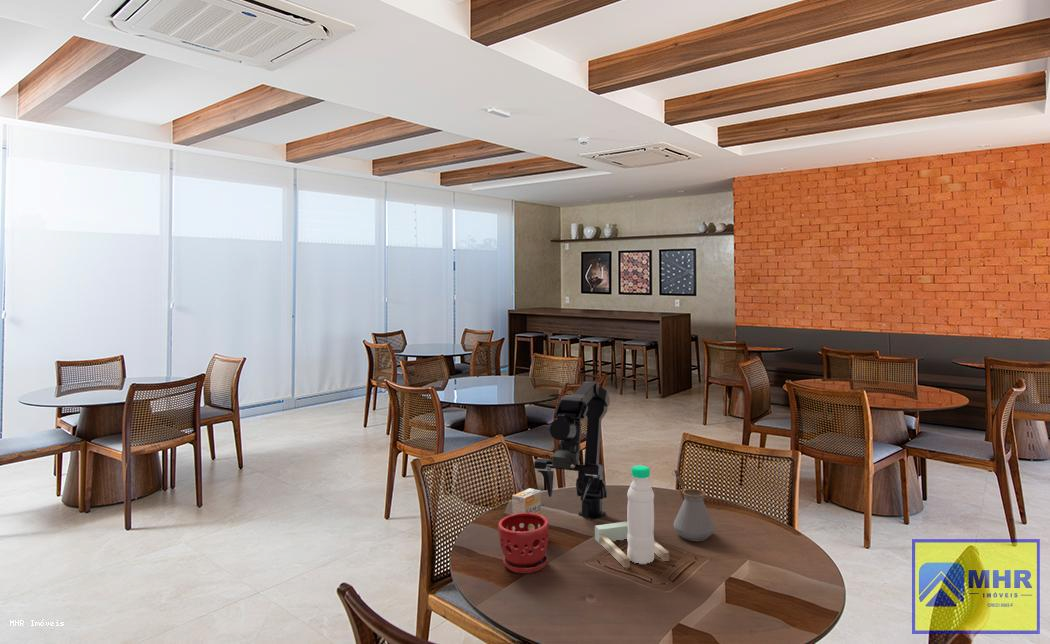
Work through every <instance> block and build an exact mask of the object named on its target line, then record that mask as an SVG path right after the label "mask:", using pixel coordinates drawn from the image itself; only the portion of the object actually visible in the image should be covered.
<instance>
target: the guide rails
mask: <svg viewBox="0 0 1050 644" xmlns="http://www.w3.org/2000/svg"><path fill="white" fill-rule="evenodd" d="M598 544H599V545H600V546H601V545H602V546H603V547H604V548H605V549H606V550H607V551H608V552H609V553H610V554H611V555H612V556H613V557H614V558H615V559H616V560H617V561H618V562H619V563H620V564H621V565H622V566H623V567H630V565H631V563H630V562H631V561H630V558H629V557H627V554H626V553H625V552H624V551H622V549H620V548H619V547H618V545H616V544H615V543H614V541H613V542H612V541H611V540H610V539H609V538H608V537H606V536H605V535H604V534H602V535H599V543H598ZM602 546H601V547H602ZM603 547H602V548H603ZM604 548H603V549H604ZM605 549H604V550H605ZM606 550H605V551H606ZM607 551H606V552H607ZM608 552H607V553H608ZM609 553H608V554H609ZM654 553H655V554H656V555H657V556H658V557H660V558H661V559H662V560H663V561H669V562H670V552H669V551H668V549H666V548H664V547H663V546H662V545H661V544H660V543H659V542H657V541H656V540H655V539H654ZM610 554H609V555H610ZM655 554H654V555H655ZM611 555H610V556H611ZM656 555H655V556H656ZM612 556H611V557H612ZM657 556H656V557H657ZM613 557H612V558H613ZM658 557H657V558H658ZM614 558H613V559H614ZM615 559H614V560H615ZM661 559H660V560H661ZM616 560H615V561H616ZM662 560H661V561H662ZM617 561H616V562H617ZM663 561H662V562H663ZM618 562H617V563H618ZM619 563H618V564H619ZM620 564H619V565H620ZM621 565H620V566H621ZM622 566H621V567H622ZM623 567H622V568H623ZM630 568H631V567H630Z"/></svg>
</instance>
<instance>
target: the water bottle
mask: <svg viewBox="0 0 1050 644" xmlns="http://www.w3.org/2000/svg"><path fill="white" fill-rule="evenodd" d="M630 473H631V477H632V478H633V479H632V482H631V483H630V486H629V488H628V490H627V492H626V493H627V495H626V496H627V497H626V498H627V509H626V510H627V513H626V514H627V516H626V517H627V518H626V520H627V524H628V535H627V540H626V541H627V549H626V550H627V554H626V556H627V557H629V558H630V562H631V561H632V562H631V563H633V562H634V563H633V564H636V563H639V564H638V565H648V564H647V563H649V564H651V563H653V561H654V559H655V554H654V540H655V535H654V532H655V505H654V503H655V502H654V499H655V493H654V491H653V488H652V485H651V484H650V482H649V479H650V476H651V471H650V468H649V467H648V466H646V465H639V464H638V465H635V466H632V467H631V472H630ZM650 562H651V563H650Z"/></svg>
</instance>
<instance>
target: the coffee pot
mask: <svg viewBox="0 0 1050 644" xmlns="http://www.w3.org/2000/svg"><path fill="white" fill-rule="evenodd" d="M673 472H674V474H673ZM671 475H672V476H674V475H675V477H676V478H677V481H678V483H679V485H680V487H681V488H682V495H684V496H683V497H684V499H683V501H682V504H681V505H680V508H679V510H678V513H677V515H676V517H675V518H674V522H673V528H674V530H675V532H676V533H677V534H678V535H679V536H680V537H681V538H682V539H684V540H687V541H690V542H702V541H705V540H707V539H708V538H710V537H711V536H712V534H713V533H714V531H715V525H714V523H713V520H712V519H711V516H710V514H709V511H708V509H707V506H706V504H705V501H704V497H705V496H706V493H707V492H706V491H704V490H702V489H696V488H688V489H687V488H686V485H685V483H684V480H683V478H681V475H680V472H679V471H678V470H676V469H674V470H672V472H671Z"/></svg>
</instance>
